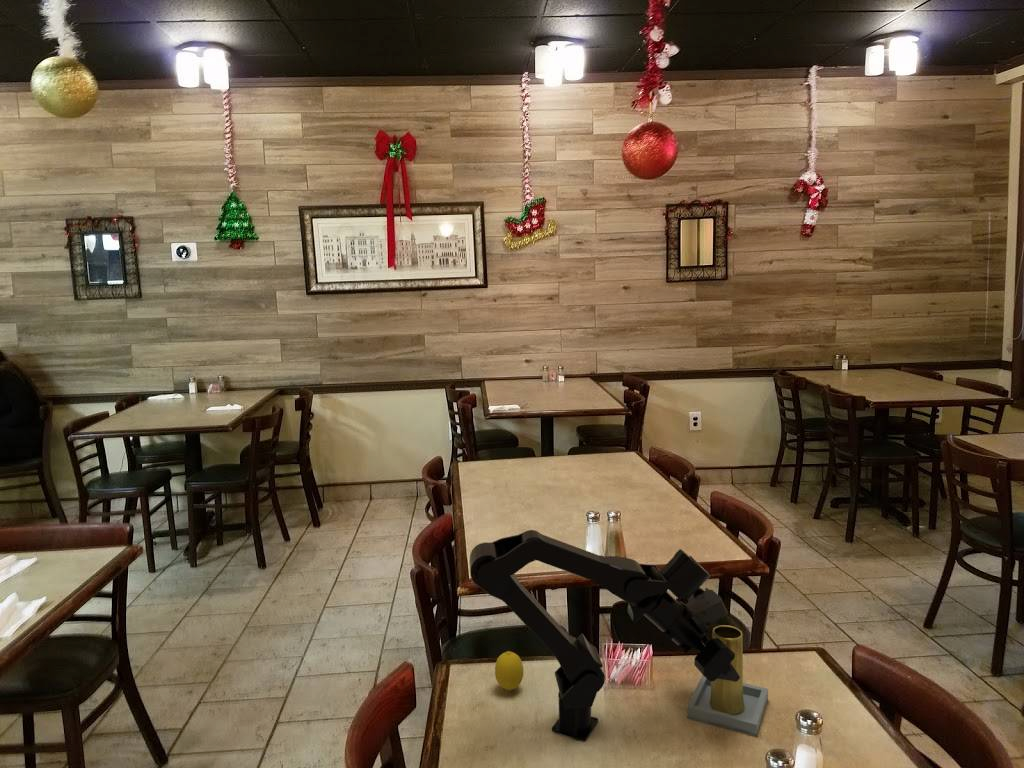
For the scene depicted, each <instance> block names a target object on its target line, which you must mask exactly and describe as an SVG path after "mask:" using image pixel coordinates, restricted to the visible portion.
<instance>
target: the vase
mask: <svg viewBox="0 0 1024 768" xmlns="http://www.w3.org/2000/svg"><path fill="white" fill-rule="evenodd" d="M743 637H744V636H743V631H742V630H741V629H739V628H738V627H736V626H733V625H726V624H723V625H722V624H720V625H717V626H715V627H713V629H712V633H711V639H714V638H719V639H720V640H721V641H722V642H723V643H725V644H726V645H727V646H728V647H729V648H730V649H731V650H732V651H733V652H734V653H735V658H734V659H733V660H732V662H731V664H732V665H733V667H734V668H735V670H736V671H737V673H738V674H739V676H740V679H739V680H738V681H737V682H734V681H729V680H723V679H716V680H715V681H712V682H711V695H710V705H711V707H712V708H713V709H714V710H716V711H718V712H722V713H726V714H730V715H735V714H739V713H741V712H742V711H743V710H744V707H745V706H744V700H743V683H744V682H743V681H744V679H743V677H744V674H743V673H744V672H743V671H744V666H743V664H744V663H743V659H744V658H743V652H744V651H743V649H744V648H743V646H744V645H743V643H744V642H743V641H744V639H743Z"/></svg>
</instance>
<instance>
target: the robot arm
mask: <svg viewBox="0 0 1024 768" xmlns="http://www.w3.org/2000/svg"><path fill="white" fill-rule="evenodd" d="M535 561H537V562H540V563H543V564H546V565H548V566H551V567H553V568H554V567H555V568H557V569H560V570H562V571H565V572H568V573H571V574H573V575H576V576H579V577H581V578H584V579H586V580H590V581H592V582H595V583H596V584H598V585H600V586H602V587H603V588H604V589H605V590H607V591H608V592H610V593H611V594H612V595H613V596H615V597H618V598H619V599H621V600H622V601H625V602H626V603H627V604H628V606H627V613H628V615H629V617H630V618H631V620H632V622H633V623H637V622H638V621H639V620H640V619H641V618H642V617H643V616H644V617H646V618H647V620H649V621H650V622H651V624H653V625H654V626H655V627H657V628H658V629H659V630H660V631H661V632H662V633H663V634H664V635H665V636H666V637H667V638H668V640H670V641H672V642H673V643H675V644H676V645H677V646H678V647H679V648H680V649H681V651H682V652H684V653H685V654H686V655H687V654H688V653H689V651H690V650H697V651H699V652H698V653H697V654H696V655H695V657H694V663H693V664H694V666H695V667H696V669H697V670H698V671H699V672H700V673H701V674H702V675H704V676H705V677H706V678H707V679H708V680H709V681H710V682H712V681H715V680H716V679H723V680H729V681H734V682H737V681H738V680H739V679H740V676H739V674H738V673H737V671H736V670H735V668H734V667H733V665H732V664H731V662H732V660H733V659H734V658H735V653H734V652H733V651H732V650H731V649H730V648H729V647H728V646H727V645H726V644H725V643H723V642H722V641H721V640H720V639H719V638H714V639H712V638H711V639H709V637H708V636H707V634H708V632H709V631H711V628H709V626H708V625H711V624H713V623H715V622H717V621H718V620H719V619H722V618H725V617H726V616H727V615H728V613H729V612H728V609H727V608H726V606H725V603H724V601H723V599H722V597H721V596H720V595H719V594H718V593H716V592H715V591H714V589H709V588H708V587H705V588H704V589H705V590H704V589H703V588H701V586H702V585H703V584H704V583H706V582H707V581H708V579H710V578H711V575H710V573H709V572H708V571H707V570H706V569H705V568H704V567H703V566H702V565H701V564H700V563H699V562H697V560H696V559H694V557H693V556H692V555H689V554H688V553H686V552H685V551H684V550H683V549H682V548H680V549H679V550H677V551H676V553H675V554H674V555H673V557H672V558H671V559H670V560H669V561H668V562H667V563H666V564H665V565H664V566H663V567H662V568H661V569H660V568H659V566H657V564H648V563H639V562H638V561H637V560H635V559H632V558H628V557H624V556H623V557H622V556H616V555H612V556H611V555H610V556H604V555H598V554H596V553H594V552H591V551H588V550H585V549H583V548H580V547H578V546H574V545H572V544H570V543H567V542H564V541H561V540H558V539H556V538H553V537H550V536H547V535H545V534H541V532H539V531H537V530H534V529H530V530H526V531H524V532H521V533H519V534H516V535H511V536H505V537H502V538H499V539H496V540H494V541H492V542H486V541H485V542H481V543H478V544H477V545H475V546H474V547H473V548H472V550H470V554H469V569H470V570H469V572H470V579H471V580H472V582H473V583H474V584H475V585H476V586H477V587H479V588H480V590H483V591H484V592H485V593H487V594H488V595H489V596H491V597H493V598H496V599H498V600H500V601H502V602H504V604H505V605H507V607H508V608H509V609H510V610H511V611H512V612H513V613H514V614H515V615H516V617H518V618H519V620H520V621H521V622H522V623H523V624H524V625H525V626H526V627H527V628H528V629H529V630H530V631H531V633H533V635H534V636H536V637H537V639H538V640H539V641H540V642H541V643H542V644H543V645H544V646H545V648H546V649H547V650H548V651H550V653H551V654H552V655H553V656H554V657H555V658H556V660H557V662H558V663H559V665H560V666H559V667H558V668H557V669H556V670H555V671H554V677H555V681H556V684H557V687H558V692H557V693H558V719H557V720H556V721H555V722H554V724H553V726H552V727H551V731H552V732H553V733H556V734H559V735H562V736H565V737H568V738H572V739H575V740H579V741H582V742H585V741H586V740H587V739H588V738H589V736H590V735H591V734H592V733H593V731H594V729H595V727H597V725H598V723H599V718H598V717H595V716H592V707H593V705H594V702H595V699H596V697H597V694H598V692H600V690H601V689H602V688H603V686H604V684H605V678H606V676H605V673H604V671H603V668H604V665H603V662H602V659H601V658H600V655H599V653H598V650H597V648H596V646H595V645H593V644H591V643H590V642H589V641H588V640H587V638H586V637H585V635H584V633H580V635H579V636H578V637H577V638H576V637H575V636H572V635H570V634H569V633H568V632H567V631H566V630H565V629H564V628H563V627H562V625H560V624H559V623H558V622H557V621H556V619H555V618H553V616H552V615H551V614H550V613H549V611H547V610H546V608H544V606H543V605H541V604H540V602H539V601H538V600H537V599H536V598H535V597H534V596H533V594H531V593H530V592H529V590H528V589H527V588H526V587H525V586H524V585H523V584H522V583H521V582H520V580H519V579H518V578H517V575H516V574H517V572H519V571H521V570H522V569H523V568H524V567H525V566H527V565H528V564H530V563H533V562H535ZM668 590H669V591H670V592H671V593H672V594H673V595H674V596H675V597H676V598H677V599H678V600H679V601H678V600H677V599H676V598H674V596H672V595H671V594H670V593H669V592H668ZM681 599H683V600H684V601H686V600H687V599H688V602H687V603H686V604H685V603H684V602H683V601H681Z"/></svg>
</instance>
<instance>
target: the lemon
mask: <svg viewBox="0 0 1024 768" xmlns="http://www.w3.org/2000/svg"><path fill="white" fill-rule="evenodd" d="M494 665H495V666H494V675H495V679H496V682H497V684H498V685H499V686H500V687H501V688H503V689H504V690H507V691H510V692H511V691H513V690H514V689H515V688H517V687H519V686H520V685H521V684H522V681H523V678H524V665H523V662H522V659H521V658H520V656H519V655H518V654H516V653H515V652H513V651H509V650H507V651H506V652H505V651H504V652H503V653H502V654H500V655H499V656H498V657H497V659H496V662H495V664H494Z"/></svg>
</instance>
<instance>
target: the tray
mask: <svg viewBox="0 0 1024 768" xmlns="http://www.w3.org/2000/svg"><path fill="white" fill-rule="evenodd" d="M710 695H711V682H710V681H709V680H708V679H707V678H706V677H705V676H704V675H703V674H702V675H701V677H700V679H699V681H698V683H697V684H696V687H695V689H694V691H693V693H692V695H691V698H690V700H689V702H688V704H687V706H686V719H688V720H692V721H696V722H700V723H704V724H708V725H711V726H715V727H719V728H723V729H727V730H730V731H734V732H738V733H741V734H746V735H747V736H748V735H749V736H753V737H755V738H757V737H758V734H759V731H760V727H761V724H762V720H763V718H764V717H763V716H764V714H765V710H766V707H767V705H768V700H769V688H766V687H762V686H758V685H755V684H754V685H753V684H749V683H745V682H743V700H744V706H745V707H744V710H743V711H742V712H741V713H739V714H735V715H730V714H726V713H722V712H718V711H716V710H714V709H713V708H712V707H711V705H710Z"/></svg>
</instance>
